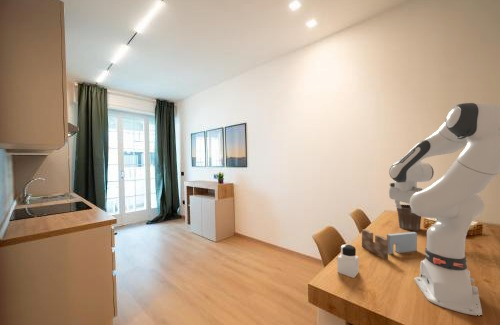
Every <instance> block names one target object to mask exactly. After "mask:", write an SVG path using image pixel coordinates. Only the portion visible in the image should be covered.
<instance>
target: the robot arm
mask: <svg viewBox="0 0 500 325" xmlns="http://www.w3.org/2000/svg"><path fill="white" fill-rule="evenodd" d="M462 149H463V150H462ZM460 150H462V151H461V152H460V153H459V155H458V156H457V157H456V159H455V160H454V161H453V162H452V164H451V165H449V166H450V167H449V168H447V170H446V172H445V173H444V174H443V175H441V177H440V178H438V179H436V181H435V180H434V182H432V184H430V185H429V186H427V187H425V188H421V187H418V184H417V183H424V182H430V181H431V180H432V179H433V177H434V173H435V172H434V168H433V166H432V165H430V164H429V163H425V162H423V161H422V160H424V159H428V158H430V157H435V156H441V155H447V154H453V153H456V152H458V151H460ZM388 173H389V177H390V178H391V179H392V180H393V181H394V182H390V183H389V190H388V195H389V199H390V200H393V201H394V203H395V206H396V205H397V207H396V209H397V208H398V209H401V205H402V204H401V203H404V204H407V205H410V207H411V213H415V214H416V215H418V216H421V218H427V219H433V220H435V219H436V221H435V222H434V223H433V224H432V225H431V226H429V227H428V229H427V230H426V247H425V250H424V256H425V257H424V259H423V260H421V261H420V263H419V266H420V267H419V276H416V277H414V282H415V283H416V284H417V286H418V288H419V289H420V291H421V292H422V294H423V295H424V297H425V298H426V299H427V301H429V302H430V303H432V304H435V305H436V306H439V307H442V308H445V309H447V310H451V311H455V312H458V313H462V314H465V315H472V316H477V315H478V316H480V315H482V316H483V309H482V304H481V300H480V296H479V287H478V286H475V285H472V283H475V278H472V277H471V271H470V270H469V269H468V261H467V260H468V259H467V257H466V256H465V251H466V249H465V248H466V238H467V234H468V231H469V229H470V227H471V225H472V224H473V222H474V220H475V219H476V218H477V217H478V216H479V215H481V214H482V213H483V212H484V209H485V202H484V200H483V198H482V197H481V196H480V195H479V193H481V192H483V191H484V190H485V189H486V188H487V187H488V186H489V185H490V184H491V183H492V181H493V180H494V179H495V178H496V177H497V175H499V174H500V104H499V105H498V104H490V103H474V102H464V103H459V104H456V105H455V106H454V107H452V108H451V109H450V110H449V111H448V113H447V115H446V117H445V120H444V122H443V123H442V124H441V125H440V126H439V128H437V129H436V131H435V132H433V133H432V134H431V135H430V136H428V137H427V138H425V139H423V140H422V141H420V142H418V143H417V144H415V145H414V146H412V148H411V149H410V150H409V151H408V152H406V154H405V155H404V156H401V157H399V158H398V160H397V161H396V162H394V163H393V164H392V165H391V166H390V168H389V172H388ZM478 316H477V317H478ZM480 317H481V316H480Z"/></svg>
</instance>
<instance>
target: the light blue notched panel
mask: <svg viewBox="0 0 500 325" xmlns="http://www.w3.org/2000/svg"><path fill="white" fill-rule="evenodd" d="M386 239H388V255H389V254H390V255H393V254H394V245H395V252H396V253H397V254H401V253H402V254H403V253H411V252H418V232H416V231H409V232H397V233H388V234H386Z"/></svg>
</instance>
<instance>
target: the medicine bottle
mask: <svg viewBox="0 0 500 325" xmlns="http://www.w3.org/2000/svg"><path fill="white" fill-rule="evenodd" d="M359 258H360V257H359V256H358V255H356V247H355V246H354V245H351V244H342V245H341V246H340V255H338V256H337V273H338V274H341V275H344V276H346V277H349V278H353V279H354V278H355V277H356V276H357V275H358V274H359V272H360V263H359V262H360V261H359V260H360V259H359Z"/></svg>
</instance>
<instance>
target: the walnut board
mask: <svg viewBox="0 0 500 325" xmlns="http://www.w3.org/2000/svg"><path fill="white" fill-rule="evenodd" d="M361 247H362V248H364V249H366V250H367V251H369V252H371V253H373V254H375V255H377V256H378V257H380V258H382V259H384V260H388V258H389V253H388V239H387V237H386V238H385V237H383V236H381V235H379V234H375V235H374V232H372V231H370V230H367V229H366V228H365V229H361Z"/></svg>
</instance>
